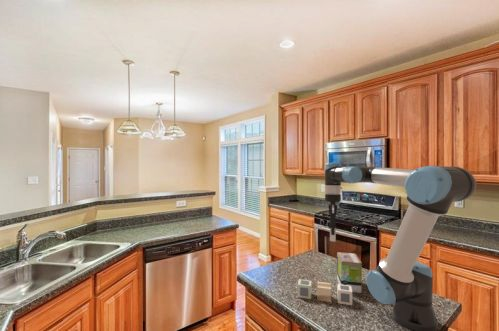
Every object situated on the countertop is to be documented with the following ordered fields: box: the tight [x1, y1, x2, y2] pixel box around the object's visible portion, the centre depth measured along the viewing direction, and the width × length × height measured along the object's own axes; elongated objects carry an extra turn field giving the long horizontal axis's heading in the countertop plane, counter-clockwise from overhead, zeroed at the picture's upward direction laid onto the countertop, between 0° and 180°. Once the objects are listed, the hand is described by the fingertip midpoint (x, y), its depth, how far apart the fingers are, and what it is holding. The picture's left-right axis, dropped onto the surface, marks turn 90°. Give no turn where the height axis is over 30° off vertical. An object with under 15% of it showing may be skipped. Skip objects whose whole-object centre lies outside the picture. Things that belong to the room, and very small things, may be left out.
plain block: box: [316, 281, 332, 303], centre depth 118 cm, size 6×6×6 cm
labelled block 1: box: [297, 278, 313, 300], centre depth 120 cm, size 6×6×6 cm
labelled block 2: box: [336, 283, 353, 306], centre depth 115 cm, size 6×6×6 cm
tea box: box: [336, 251, 363, 294], centre depth 131 cm, size 15×10×15 cm, turn 168°
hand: (332, 240), depth 126 cm, fingers closed
